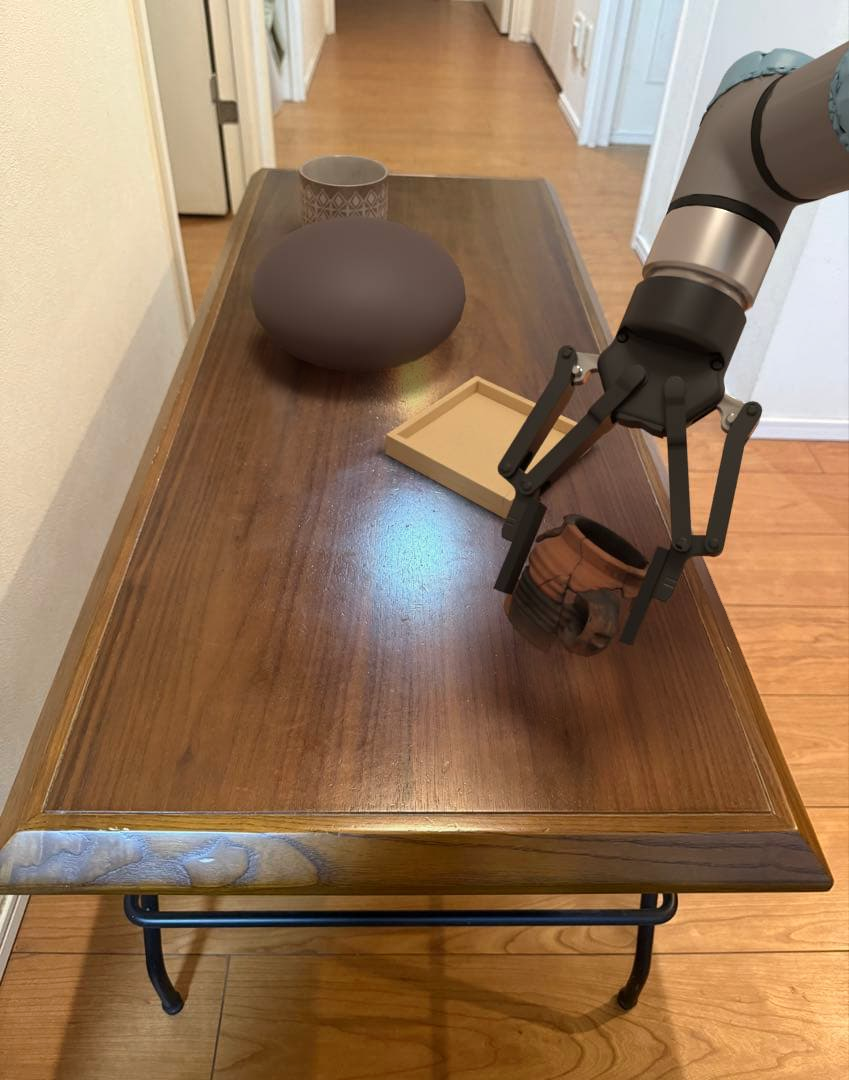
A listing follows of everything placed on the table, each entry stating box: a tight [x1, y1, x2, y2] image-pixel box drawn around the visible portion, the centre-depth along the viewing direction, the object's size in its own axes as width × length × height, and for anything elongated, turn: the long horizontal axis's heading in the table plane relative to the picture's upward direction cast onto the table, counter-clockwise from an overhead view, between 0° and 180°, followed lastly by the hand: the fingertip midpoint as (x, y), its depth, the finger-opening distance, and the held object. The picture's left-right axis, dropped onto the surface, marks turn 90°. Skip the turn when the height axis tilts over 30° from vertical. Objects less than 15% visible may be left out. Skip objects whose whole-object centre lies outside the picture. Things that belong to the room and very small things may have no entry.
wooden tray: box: [385, 375, 592, 520], centre depth 87 cm, size 16×16×2 cm
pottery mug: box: [503, 513, 650, 658], centre depth 58 cm, size 12×10×8 cm
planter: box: [298, 153, 390, 227], centre depth 122 cm, size 13×13×10 cm
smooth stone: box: [249, 216, 467, 373], centre depth 97 cm, size 25×25×15 cm
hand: (562, 616), depth 55 cm, fingers closed on pottery mug, 8 cm apart
